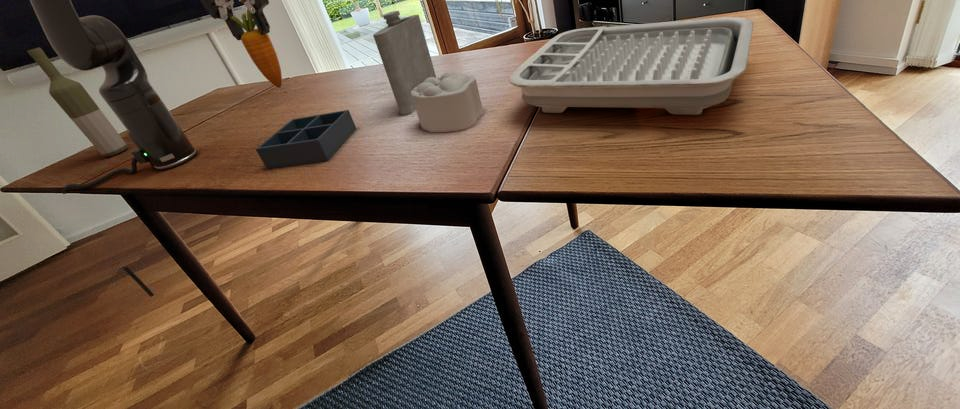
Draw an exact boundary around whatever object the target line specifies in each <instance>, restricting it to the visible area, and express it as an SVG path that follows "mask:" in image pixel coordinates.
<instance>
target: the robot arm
mask: <svg viewBox="0 0 960 409" xmlns="http://www.w3.org/2000/svg"><path fill="white" fill-rule="evenodd" d="M29 1H30V5H31V6H32V8H33V10H34V13H35V15H36V17H37V19H38V21H39V24H40V26H41V29H42V31H43V32H44V35H45V36H46V39H47V40H48V42H49V44H50V46H51V48H52V49H53V51H54V52H55V53H56V54H57V56H58V57H59V58H60V59H61V60H62V61H63V62H64V63H65V64H67V65H68V66H70V67H71V68H73V69H75V70H79V71H82V72H83V71H84V72H85V71H92V70H95V69H98V68H101V67H102V69H103V71H104V73H105V76H104V80H103V82H102V83H101V85H100V86H99V88H98V93H99V95H100V97H101V98H102V99H103V100H104V102H106V104H107V105H108V107H109V108H110V109H111V111H112V113H114V114H115V116H116V117H117V119H118V120H119V121H120V122H121V124H122V125H123V126H124V128H125V130H127V132H128V133H127V136H128V137H129V138H130V140H131V141H132V142H133V144H134V145H135V146H136V149H134V150H133V151H130V153H131V155H132V156H133V158H132V160H131V163H130V166H131V169H130V168H119V169H116V170H113V171H111V172H108V173H107V174H105V175H104V176H102V177H100V178H98V179H96V180H93V181H91V182H88V183H82V184H81V183H79V184H78V183H69V184H66V185H65V186H64V187H63V189H62V195H66V194H68V193H69V191H70V189H90V188H92V187H95V186H97V185H99V184H101V183H103V182H105V181H107V180H109V179H111V178H113V177H115V176H118V175H119V174H122V173H126V174H129V175H134V174H136V173H137V172H138V165H137V163H139V165H140V164H141V165H142V164H147V163H149V164H150V166H151V167H152V169H156V170H157V171H165V170H170V169H172V168H175V167H178V166H180V165H182V164H184V163H187V162H189V161H190V160H192V159H193V158H195V157H196V156H197V154H198V150H197V149H196V148H195V147H194V146H193V144H192V143H191V141H190V140H189V138H188V137H187V135H186V134H185V132H184V131H183V129H182V128H181V127H180V125H179V124H178V122H177V121H176V119H175V118H174V116H173V115H172V113H171V112H170V110H169V109H168V107H167V105H166V104H165V102H164V101H163V100H162V98H161V97H160V96H159V94H158V93H157V91H156V90H155V88H154V87H153V85H152V84H151V82H150V81H149V77H148V73H147V70H146V68H145V66H144V64H143V63H142V60H140V59H139V57H138V55H137V53H136V52H135V50H134V48H133V46H132V45H131V43H130V42H129V40H128V39H127V37H126V36H125V35H124V33H123V32H122V30H121V29H120V28H119V27H118V26H117V25H116V24H114V23H113V22H112V21H111V20H109V19H108V18H106V17H104V16H100V15H97V14H95V15H86V16H81V17H79V14H78V13H77V10H76V9H75V7H74V5H73V3H72V0H29ZM198 1H199V2H200V4H201V5H202V6H203V7H204V9H205V10H206V12H208V14H209V15H210V16H211V18H212V19H214V20H217V19H219V20H223V21H224V22H225V23H226V25H227V27H228V29H229V31H230V33H231V35H232V36H233V37H234V38H235V39H236V41H242V40H241V37H242V35H243V34H244V33H245V29H243V28H242V27H241V26H240V25H239V24H238V23H236V22H235V21H234V20H232V19H231V17H232V16H235V17H236V14H235V10H234V4H235V2H234V0H198ZM238 2H240V3H241V4H243V5H244V6H245V8H246V10H247V9H248V10H249V11H250V12H251V13H253V14H252V15H251V16H252V18H253V20H254V22H255V24H256V25H255V27H256V29H258V30H259V32H260V34H261V35H264V34H269V33H270V32H271V25H270V23H269V21H268V19H267V17H266V15H265V13H264V9H265V8H266V7H267V6H269V5H270V1H269V0H238ZM121 268H122V269H123V270H124V272H126V273H127V274H128V275H129V276H130V277H131V279H133V281H134V282H136V283H137V284H138V286H139V287H140V288H142V290H143V291H144V292H145V293H146V295H148V296H149V298H152V297H154V296H155V294H154V293H153V292H152V290H150V288H149V287H148V286H147V285H146V284H145V283H144V282H143V281H142V280H141V279H140V278H139V277H138V276H137V275H136V273H134V272H133V271H132V270H131V269H130V267H128V266H123V267H122V266H121Z"/></svg>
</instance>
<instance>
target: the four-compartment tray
mask: <svg viewBox="0 0 960 409" xmlns="http://www.w3.org/2000/svg"><path fill="white" fill-rule="evenodd" d="M356 130H357V127H356V123H355V121H354V119H353V117H352V115H351V112H350V110H349V109H345V110H340V111H334V112H327V113H320V114H315V115H314V114H313V115H309V116H303V117H297V118H292V119H290V121H288V122H286V123H285V124H284V125H283V126H282V127H281V128H279V129H278V130H277V131H276V132H275V133H273V134H272V135H271V136H270V137H268V138H267V139H266V140H265V141H263V142H262V143H261V144H260V145H259V146H258V147H256V148H255V151H256V153H257V155H258V156H259V158H260V160H261V161H262V163H263V165H264V166H265V168H266V169H267V170H268V169H276V168H283V167H291V166H297V165H298V166H299V165H305V164H313V163H314V164H315V163H319V162H328V161H330V159H331V158H332V157H333V156H334V155H335V154H336V152H337V151H339V149H340V148H341V147H342V146H343V145H344V144H345V143H346V141H347V140H348V139H349V138H350V137H351V136H352V135H353V134H354V132H355V131H356Z"/></svg>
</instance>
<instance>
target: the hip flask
mask: <svg viewBox="0 0 960 409" xmlns="http://www.w3.org/2000/svg"><path fill="white" fill-rule="evenodd" d="M400 15H401V13H400V10H393V11H390V12H387V13H384V14H382V17H383V20H385V23H386V25H387V26H385V27H383V28H381V29H380V30H377V31H376V32H375V33H373V34H372V36H373V39H374V42H375V44H376V48H377V51H378V53H379V56H380V59H381V62H382V65H383V68H384V71H385V73H386V77H387V79H388V82H389V85H390V89H391V91H392V93H393V94H392V95H393V96H394V99H395V102H396V106H397V108H398V111H399V114H400V115H401V116H406V115H409V114H412V113H413V112H414V111H416V109H415V106H414V102H413V99H412V96H411V91H412V90H413V89H414V88H415V87H417V86H418V85H420V84H421V83H423V82H424V81H425V80H426V79H427V78H429V77H435V78H437V75H436V71H435V68H434V65H433V64H434V63H433V60H432V57H431V54H430V49H429V46H428V42H427V40H426V36H425V32H424V29H423V26H422V21H421V19H420V18H421V17H420V15H419V14H412V15H408V16H405V17H400Z"/></svg>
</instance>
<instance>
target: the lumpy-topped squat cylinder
mask: <svg viewBox="0 0 960 409" xmlns="http://www.w3.org/2000/svg"><path fill="white" fill-rule="evenodd" d="M411 96H412V99H413V102H414V106H415V112H416V115H417V118H418V121H419V124H420V127H421V129H423V131H427V132H431V133H447V132H458V131H463V130H466V129H469V128H472V127H473V126H474V125H475V124H476V122H477V120H478V119H479V118H480V117H481V116H482V115H483V114H484V109H483V105H482V100H481V95H480V91H479V87H478V83H477V78H476V77H475V76H473V75H467V74H464V73H463V74H462V73H460V74H459V73H458V74H456V72H453V71H446V72H444V73H443V74H441V76H440V77H436V78H435V77H429V78H427V79H426V80H425V81H424V82H423V83H421V84H420V85H418V86H417V87H415V88H414V89H413V90H412V91H411Z"/></svg>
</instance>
